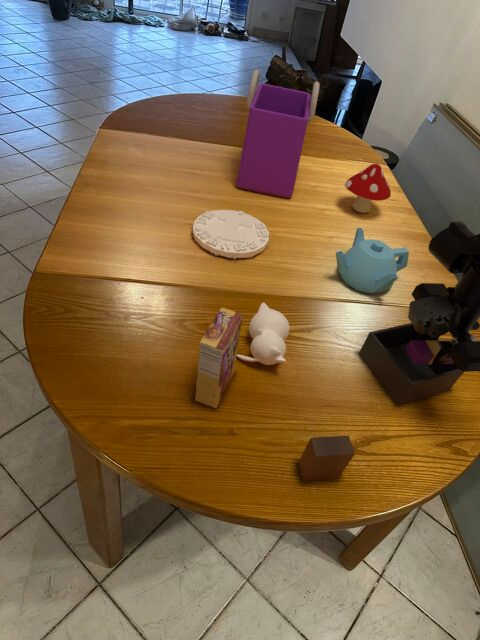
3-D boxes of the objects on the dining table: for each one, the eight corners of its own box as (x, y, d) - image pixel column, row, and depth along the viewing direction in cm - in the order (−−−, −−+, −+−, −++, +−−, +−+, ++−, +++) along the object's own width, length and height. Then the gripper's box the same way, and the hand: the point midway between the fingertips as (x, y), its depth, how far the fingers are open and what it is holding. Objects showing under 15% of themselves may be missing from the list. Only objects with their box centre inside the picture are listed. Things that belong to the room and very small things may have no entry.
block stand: (333, 460, 68) (348, 435, 62) (338, 478, 66) (355, 454, 60) (297, 463, 67) (310, 437, 61) (302, 481, 65) (316, 456, 59)
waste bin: (449, 389, 83) (466, 369, 78) (397, 406, 78) (411, 385, 73) (408, 341, 91) (421, 320, 86) (358, 353, 86) (369, 332, 82)
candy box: (212, 364, 79) (221, 305, 68) (233, 372, 78) (246, 314, 67) (192, 400, 72) (198, 341, 62) (215, 409, 72) (225, 351, 61)
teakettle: (382, 308, 98) (400, 272, 90) (324, 280, 102) (337, 243, 95) (400, 278, 108) (419, 243, 100) (347, 253, 112) (361, 218, 105)
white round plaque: (281, 238, 113) (283, 228, 111) (240, 270, 100) (242, 261, 98) (221, 209, 119) (222, 199, 117) (176, 236, 107) (176, 226, 105)
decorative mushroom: (339, 218, 125) (356, 170, 115) (334, 196, 135) (349, 150, 125) (385, 225, 126) (405, 178, 116) (377, 203, 136) (395, 158, 126)
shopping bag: (306, 201, 130) (335, 97, 109) (236, 194, 127) (252, 86, 106) (293, 162, 150) (315, 67, 129) (233, 155, 147) (245, 57, 126)
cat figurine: (280, 341, 72) (280, 294, 81) (224, 354, 76) (230, 308, 84) (296, 370, 78) (295, 323, 86) (244, 381, 81) (248, 335, 90)
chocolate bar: (443, 349, 79) (449, 340, 78) (452, 364, 77) (459, 355, 75) (405, 349, 78) (410, 340, 76) (413, 364, 75) (419, 355, 73)
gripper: (404, 255, 71) (371, 320, 82) (458, 335, 58) (411, 400, 69) (461, 257, 73) (422, 320, 84) (526, 335, 60) (470, 397, 71)
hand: (429, 356), depth 77 cm, fingers closed on chocolate bar, 4 cm apart
